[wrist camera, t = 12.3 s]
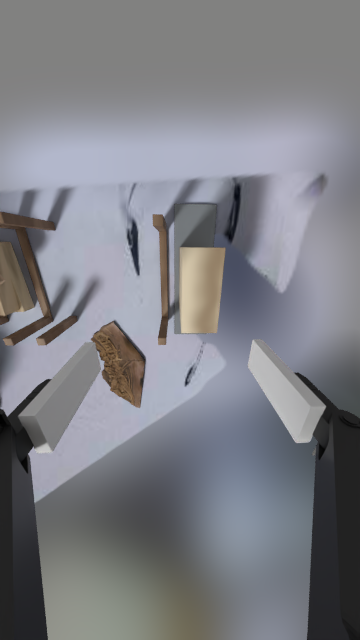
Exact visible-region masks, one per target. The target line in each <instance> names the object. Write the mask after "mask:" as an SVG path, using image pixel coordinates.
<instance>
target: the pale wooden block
mask: <svg viewBox="0 0 360 640" xmlns="http://www.w3.org/2000/svg"><path fill="white" fill-rule="evenodd" d="M224 258H225V248H212V247H180V257H179V309H180V323H181V333H217V326H218V316H219V307H220V297H221V287H222V278H223V267H224Z"/></svg>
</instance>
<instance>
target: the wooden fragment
mask: <svg viewBox="0 0 360 640" xmlns="http://www.w3.org/2000/svg"><path fill="white" fill-rule="evenodd" d="M91 340H92V341H93V342H95V345H96V349H97V351H99V354H100V357H101V360H103V361H105V364H104V368H105V369H104V370H103V371H102V376H103V379H104V380H106V382H107V383H108V384H109V386H110V387H111V389H110V391H112V392H114V393H115V394H117V395H118V396H119V397H122V398H123V399H125V400H127V401H129V402H130V403H131V404H132V405H134V406H136V407H138V408H140V402H141V393H142V382H143V373H144V363H145V361H144V360H145V359H144V358H143V357H142V356H141V355H140V354H139V353H138V351H137V350H136V349H135V348H134V346H133V345H132V344H131V343H130V341H129V340H128V339H127V338H126V337H125V335H124V334H123V333H122V332H121V330H120V329H119V328H118V327H117V326H116V325H115V324H114V321H112V322H111V323H109V324H107V325H104V326H102V327H101V329H100V331H98V332H97V333H95V334H94V335H93V338H92V339H91ZM142 360H143V361H142Z"/></svg>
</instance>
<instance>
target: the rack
mask: <svg viewBox="0 0 360 640" xmlns="http://www.w3.org/2000/svg"><path fill="white" fill-rule="evenodd" d="M153 226H154V227H155V228H156V229H157V230H158V231H159V238H160V270H161V301H162V320H161V325H160V331H159V336H158V345H166V337H167V326H168V293H167V234H166V222H165V219H164V217H163V215H155V214H153ZM25 227H28V228H35V229H43V230H55V226H54V222H50V221H45V220H40V219H35V218H30V217H25V216H20V215H15V214H10V213H5V212H0V228H7V229H15V230H16V233H17V236H18V239H19V242H20V245H21V248H22V252H23V255H24V258H25V261H26V264H27V267H28V270H29V273H30V276H31V279H32V282H33V285H34V288H35V292H36V295H37V298H38V301H39V304H40V307H41V310H42V313H43V316H44V317H43V318H41V319H39V320H37V321H35V322H33V323H31V324H30V325H28V326H26V327H24V328H22V329H20V330H18V331H17V332H15V333H13V334H11V335H9V336H7V337H5V338H3V340H4V342H5V344H6V345H15V344H17V343H18V342H20V341H22V340H23V339H25V338H27V337H28V336H30V335H32V334H33V333H35V332H36V331H38V330H40V329H41V328H43V327H45V326H46V325H48V324H49V323H51V322H53V318H52V315H51V312H50V309H49V305H48V302H47V299H46V295H45V292H44V289H43V286H42V282H41V279H40V276H39V272H38V269H37V266H36V263H35V259H34V256H33V253H32V249H31V246H30V243H29V240H28V236H27V233H26V230H25ZM8 321H9V320H8V317H7V315H6V316H3V315H0V325H2V324H4V323H6V322H8ZM76 322H77V317H76V316H69V317H68V318H66V319H65V320H63V321H62V322H60V323H59V324H57V325H56V326H54V327H53V328H51V329H50V330H48V331H47V332H45V333H44V334H42V335H41V336H39V337H38V338H36V340H37V343H38V345H47V344H48V343H50V342H51V341H52V340H54V339H55V338H56V337H58V336H59V335H60V334H61V333H63V332H64V331H65V330H67V329H68V328H69V327H71V326H72V325H73V324H75V323H76Z"/></svg>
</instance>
